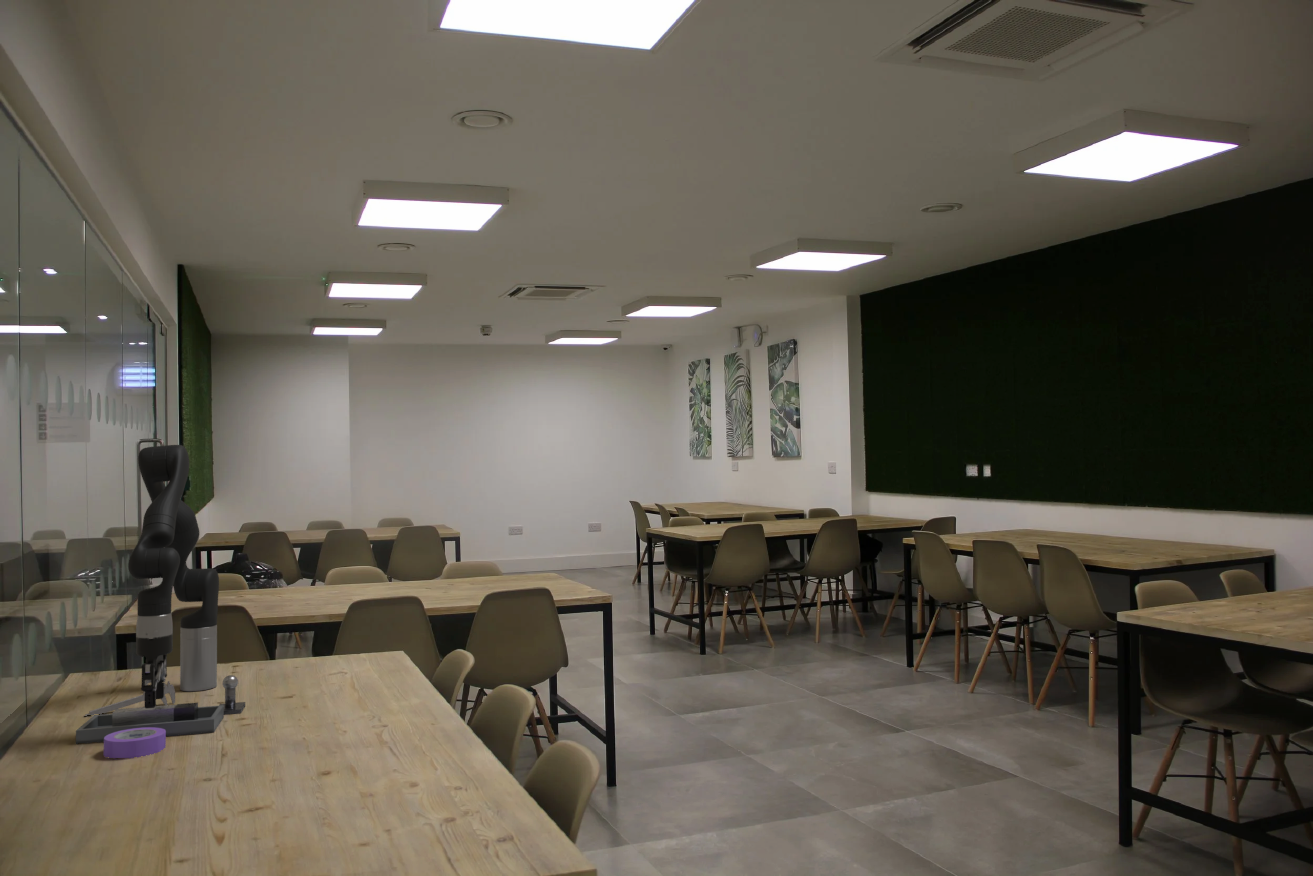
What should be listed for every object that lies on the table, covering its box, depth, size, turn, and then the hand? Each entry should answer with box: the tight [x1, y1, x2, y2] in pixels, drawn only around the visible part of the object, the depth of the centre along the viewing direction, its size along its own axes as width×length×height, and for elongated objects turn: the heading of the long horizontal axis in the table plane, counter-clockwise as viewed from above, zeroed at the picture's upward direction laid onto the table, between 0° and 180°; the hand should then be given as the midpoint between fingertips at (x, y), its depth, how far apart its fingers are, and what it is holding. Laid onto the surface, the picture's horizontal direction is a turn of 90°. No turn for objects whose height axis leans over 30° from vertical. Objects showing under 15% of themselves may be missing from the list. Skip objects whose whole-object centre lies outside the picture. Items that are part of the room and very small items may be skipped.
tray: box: [75, 704, 225, 745], centre depth 217 cm, size 14×28×3 cm, turn 107°
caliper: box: [84, 680, 176, 717], centre depth 237 cm, size 20×1×6 cm, turn 128°
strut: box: [111, 702, 199, 727], centre depth 217 cm, size 4×17×4 cm, turn 107°
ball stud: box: [218, 674, 246, 715], centre depth 235 cm, size 8×6×9 cm
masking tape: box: [103, 727, 167, 759], centre depth 201 cm, size 12×12×4 cm
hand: (154, 703), depth 217 cm, fingers open, 8 cm apart
